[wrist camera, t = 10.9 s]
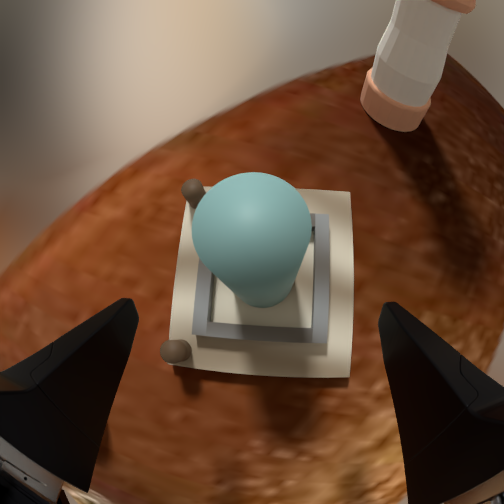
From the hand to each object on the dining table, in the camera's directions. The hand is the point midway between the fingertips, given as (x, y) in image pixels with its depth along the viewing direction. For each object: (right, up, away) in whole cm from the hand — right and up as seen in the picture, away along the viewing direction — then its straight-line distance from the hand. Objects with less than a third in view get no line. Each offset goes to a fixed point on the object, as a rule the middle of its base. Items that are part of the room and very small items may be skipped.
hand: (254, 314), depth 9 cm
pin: (+1, 0, +10) cm, 10 cm away
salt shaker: (+15, +18, +15) cm, 28 cm away
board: (+1, 0, +11) cm, 11 cm away
